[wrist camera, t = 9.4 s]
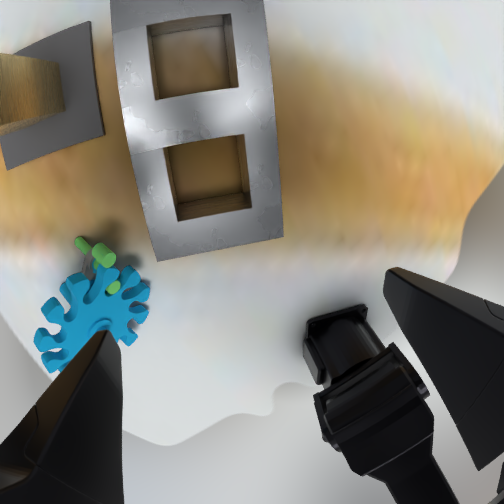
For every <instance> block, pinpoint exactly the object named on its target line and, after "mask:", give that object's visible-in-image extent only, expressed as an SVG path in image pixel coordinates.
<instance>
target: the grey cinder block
mask: <svg viewBox="0 0 504 504" xmlns="http://www.w3.org/2000/svg"><path fill="white" fill-rule="evenodd" d="M110 7H111V23H112V36H113V47H114V56H115V65H116V73H117V81H118V88H119V95H120V101H121V108H122V114H123V120H124V125H125V131H126V136H127V141H128V146H129V151H130V156H131V161H132V166H133V170H134V175H135V179H136V184H137V188H138V192H139V196H140V200H141V204H142V208H143V212H144V216H145V220H146V224H147V227H148V231H149V235H150V238H151V242H152V245H153V249H154V252H155V256H156V259H157V262H158V261H163V260H168V259H173V258H178V257H183V256H188V255H193V254H198V253H204V252H209V251H214V250H219V249H224V248H229V247H234V246H239V245H245V244H250V243H255V242H260V241H265V240H271V239H276V238H281V237H284V235H283V216H282V199H281V184H280V169H279V155H278V142H277V129H276V117H275V106H274V95H273V84H272V74H271V64H270V54H269V45H268V36H267V27H266V19H265V11H264V3H263V0H110ZM216 26H224V34H225V43H226V51H227V60H228V69H229V78H230V87H231V88H229V89H221V90H213V91H206V92H199V93H193V94H187V95H182V96H176V97H171V98H166V99H161V100H160V99H159V92H158V85H157V78H156V70H155V62H154V53H153V44H152V36H156V35H161V34H166V33H172V32H178V31H184V30H191V29H198V28H206V27H216ZM231 135H236V139H237V148H238V156H239V165H240V174H241V182H242V191H243V192H241V193H235V194H230V195H224V196H218V197H213V198H207V199H202V200H197V201H192V202H187V203H182V204H178V201H177V197H176V192H175V187H174V181H173V176H172V171H171V166H170V160H169V155H168V149H167V147H168V146H173V145H178V144H183V143H188V142H194V141H199V140H205V139H211V138H218V137H224V136H231Z"/></svg>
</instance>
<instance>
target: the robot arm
mask: <svg viewBox="0 0 504 504" xmlns="http://www.w3.org/2000/svg"><path fill="white" fill-rule="evenodd" d="M383 294H384V297H385V299H386V301H387V303H388V305H389V307H390V309H391V311H392V312H393V314H394V316H395V318H396V320H397V322H398V324H399V326H400V328H401V330H402V332H403V334H404V335H405V337H406V338H407V340H408V342H409V343H410V345H411V347H412V348H413V350H414V351H415V353H416V355H417V356H418V358H419V360H420V361H421V363H422V365H423V366H424V368H425V370H426V372H427V373H428V375H429V377H430V378H431V380H432V382H433V384H434V385H435V387H436V389H437V391H438V392H439V394H440V396H441V398H442V400H443V402H444V404H445V405H446V407H447V409H448V411H449V413H450V415H451V417H452V419H453V420H454V422H455V424H456V427H457V429H458V431H459V433H460V435H461V437H462V439H463V441H464V443H465V445H466V447H467V449H468V451H469V453H470V455H471V457H472V460H473V462H474V464H475V466H476V468H477V470H478V471H480V470H481V469H482V468H484V467H485V466H486V465H488V464H489V463H490V462H492V461H493V460H494V459H496V458H497V457H498V456H499V455H500V454H502V453H503V452H504V307H503V306H501V305H498V304H495V303H493V302H490V301H488V300H485V299H484V300H483V299H482V298H480V297H478V296H475V295H472V294H469V293H467V292H465V291H462V290H459V289H457V288H454V287H451V286H449V285H446V284H443V283H441V282H438V281H435V280H433V279H430V278H427V277H424V276H422V275H419V274H416V273H413V272H411V271H408V270H405V269H402V268H399V267H395V268H391V269H388V270H387V271H386V274H385V280H384V286H383ZM367 311H368V308H367V306H366V305H364V304H363V305H359V306H356V307H353V308H349V309H346V310H342V311H339V312H335V313H332V314H328V315H325V316H321V317H317V318H314V319H310V320H309V321H308V322H307V328H306V338H305V340H304V348H303V357H304V359H305V361H306V363H307V365H308V367H309V370H310V372H311V374H312V376H313V378H314V381H315V383H316V384H317V385H321V384H322V385H323V387H324V390H323V391H321V392H318V393H316V394H314V395H313V397H314V401H315V403H314V405H315V409H316V412H317V416H318V420H319V423H320V427H321V431H322V438H323V440H324V441H325V442H328V443H330V444H331V446H332V447H333V448H334V449H335V450H336V451H338V452H342V453H343V455H344V456H345V458H346V460H347V462H348V464H349V466H350V468H351V470H352V471H353V472H355V473H357V474H358V475H360V476H365V475H368V476H370V477H373V478H375V479H377V480H379V481H382V482H384V483H385V484H386V486H387V487H388V489H389V491H390V493H391V494H392V496H393V498H394V500H395V502H396V503H397V504H460V503H459V501H458V499H457V498H456V496H455V494H454V492H453V490H452V488H451V487H450V485H449V483H448V481H447V479H446V478H445V476H444V474H443V472H442V471H441V469H440V467H439V465H438V463H437V462H436V460H435V458H434V456H433V455H432V446H433V432H434V416H433V414H432V412H431V410H430V408H429V407H428V405H427V404H426V402H425V401H424V399H426V398H427V397H428V396H430V393H429V391H428V389H427V387H426V385H425V384H424V382H423V380H422V379H421V377H420V376H419V374H418V373H417V371H416V370H415V369H414V367H413V366H412V365H411V363H410V362H409V361H408V360H407V358H406V357H405V356H404V355H403V353H402V352H401V351H400V350H399V348H398V347H397V346H396V345H395V344H394V342H392V343H391V344H389V346H388V347H387V348H385V346H384V345H383V343H382V342H381V340H380V339H379V338H378V336H377V335H376V333H375V332H374V331H373V329H372V328H371V327H370V325H369V324H368V322H367V321H366V316H367ZM122 408H123V387H122V367H121V351H120V348H119V346H118V344H117V342H116V340H115V339H114V337H113V335H112V333H111V332H110V331H109V330H107V329H106V330H100V331H97V332H96V333H95V334H94V335H93V336H92V337H91V338H90V339H89V340H88V341H87V343H86V344H85V345H84V346H83V347H82V348H81V349H80V351H79V352H78V353H77V354H76V355H75V356H74V357H73V359H72V360H71V361H70V362H69V363H68V364H67V366H66V367H65V368H64V369H63V370H62V371H61V373H60V374H59V375H58V376H57V377H56V379H55V380H54V381H53V382H52V383H51V385H50V386H49V387H48V388H47V390H46V391H45V392H44V393H43V394H42V396H41V397H40V398H39V399H38V401H37V402H36V405H34V406H33V407H32V408H31V409H30V411H29V412H28V413H27V414H26V416H25V417H24V418H23V419H22V420H21V422H20V423H19V424H18V426H16V428H15V429H14V430H13V431H12V432H11V433H10V435H9V436H8V437H7V438H6V439H5V440H4V441H3V442H2V444H0V504H124V494H123V475H122ZM497 493H498V495H497V496H496V497H495V498H494V499H493V500H492V501H491V502H489V503H488V504H504V462H503V465H502V470H501V475H500V480H499V484H498V488H497Z"/></svg>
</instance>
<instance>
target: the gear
mask: <svg viewBox="0 0 504 504" xmlns="http://www.w3.org/2000/svg"><path fill="white" fill-rule="evenodd" d="M75 245H76V246H77V247H78V248H79V249H80V250H81V251H82V253H83V254H84V255H85V259H84V264H83V268H82V272H80V273H75V274H73V275H71V276H69V277H67V279H66V283H63V284H62V285H61V286H60V292H61V293H62V295H63V296H64V298H65V299H66V300H67V301H68V303H69V304H70V305H71V308H70V310H69V311H68V312H67V313H66V314H64V308H63V307H62V305H61V304H60V302H59V301H58V300H57V299H56V298H55V297H52V298H50V299H49V300H48V301H47V302H46V303H45V304H44V305H43V306H42V308H41V311H42V313H43V314H44V316H45V318H46V319H47V321H48V322H50V323H56V324H59V325H61V330H60V332H59V333H58V334H56V335H51V334H50V333H49V332H48V330H47V329H45V328H38V329H37V331H36V333H35V336H34V344H35V345H36V347H37V349H38V350H39V351H40V352H45V353H43V354H42V355H41V359H42V362H43V364H44V365H45V367H46V369H47V370H48V372H49V373H53V372H55V371H56V370H57V369H58V370H59V371H60V373H61V371H62V370H63V369H64V368H65V367H66V366H67V364H68V363H69V362H70V361H71V360H72V359H73V357H74V356H75V355H76V354H77V353H78V352H79V351H80V349H81V348H82V347H83V346H84V345H85V344H86V343H87V341H88V340H89V339H90V338H91V337H92V336H93V335H94V334H95V333H96V332H97V331H100V330H106V329H107V330H109V331H110V332H111V333H112V335H113V337H114V339H115V340H116V342H118V340H119V338H120V339H121V340H122V341H123V342H124V343H125V344H126V345H127V346H130V345H131V344H132V343H133V342H134V341H135V340H136V339H137V338H138V335H137V334H136V333H135V332H134V331H133V330H132V329H131V328H127V323H128V322H129V320H130V319H132V318H133V319H134V320H135V321H136V322H137V323H138V324H142V323H143V322H144V321H145V319H146V318H147V316H148V313H149V311H148V310H147V309H145V308H144V307H143V306H142V305H137V306H135V307H131V308H130V307H129V306H130V304H131V303H132V302H134V301H139V302H141V303H142V302H145V301H147V300H148V298H149V293H150V288H149V287H148V286H147V285H145V284H144V283H143V282H140V281H141V278H140V275H139V274H138V272H137V271H136V270H135V269H133V268H132V267H131V266H130V265H128V266H126V267H125V268H124V269H123V270H122V272H121V274H120V271H119V270H118V269H117V268H116V267H115V266H114V265H113V264H114V263H115V261H116V255H115V254H114V253H113V252H112V251H111V250H110V249H109V248H108V247H107V246H105V245H104V244H103V243H97V244H96V245H95V246H94V247H93V248H92V247H91V246H90V245H89V244H88V243H87V242H86V241H85V240H84V239H83V238H82V237H78V238H76V240H75ZM119 274H120V276H119ZM118 276H119V277H118ZM130 287H133V288H132V289H130V290H129V291H126V292H124V293H123V291H124V290H125V289H127V288H130ZM54 348H62V349H61V350H60V351H59V352H51V351H48V350H51V349H54ZM46 351H47V352H46Z"/></svg>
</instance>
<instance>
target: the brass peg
mask: <svg viewBox="0 0 504 504" xmlns="http://www.w3.org/2000/svg"><path fill="white" fill-rule="evenodd" d="M64 111H66V109H65V103H64V97H63V91H62V84H61V76H60V68H59V63H57V62H52V61H47V60H42V59H36V58H30V57H24V56H18V55H11V54H3V53H0V136H3V135H6V134H9V133H12V132H15V131H18V130H21V129H25V128H27V127H29V126H31V125H33V124H36V123H38V122H40V121H42V120H45V119H47V118H49V117H52V116H54V115H57V114H59V113H62V112H64Z"/></svg>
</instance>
